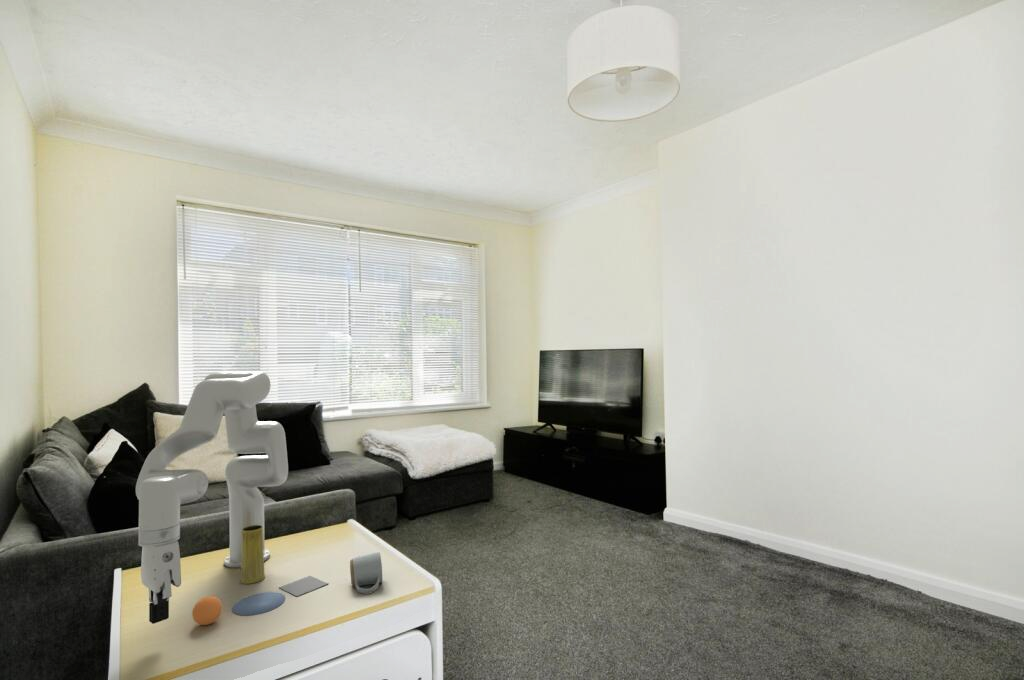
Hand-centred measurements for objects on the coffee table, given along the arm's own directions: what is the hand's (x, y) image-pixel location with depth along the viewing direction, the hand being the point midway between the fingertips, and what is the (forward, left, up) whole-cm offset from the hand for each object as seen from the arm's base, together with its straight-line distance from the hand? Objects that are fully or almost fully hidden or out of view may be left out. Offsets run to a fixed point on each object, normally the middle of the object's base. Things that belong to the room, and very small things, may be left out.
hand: (159, 620), depth 113 cm
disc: (0, +22, -5) cm, 22 cm away
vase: (-16, +28, -5) cm, 33 cm away
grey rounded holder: (+14, +44, -5) cm, 47 cm away
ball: (0, +10, -2) cm, 10 cm away
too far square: (0, +34, -5) cm, 34 cm away
